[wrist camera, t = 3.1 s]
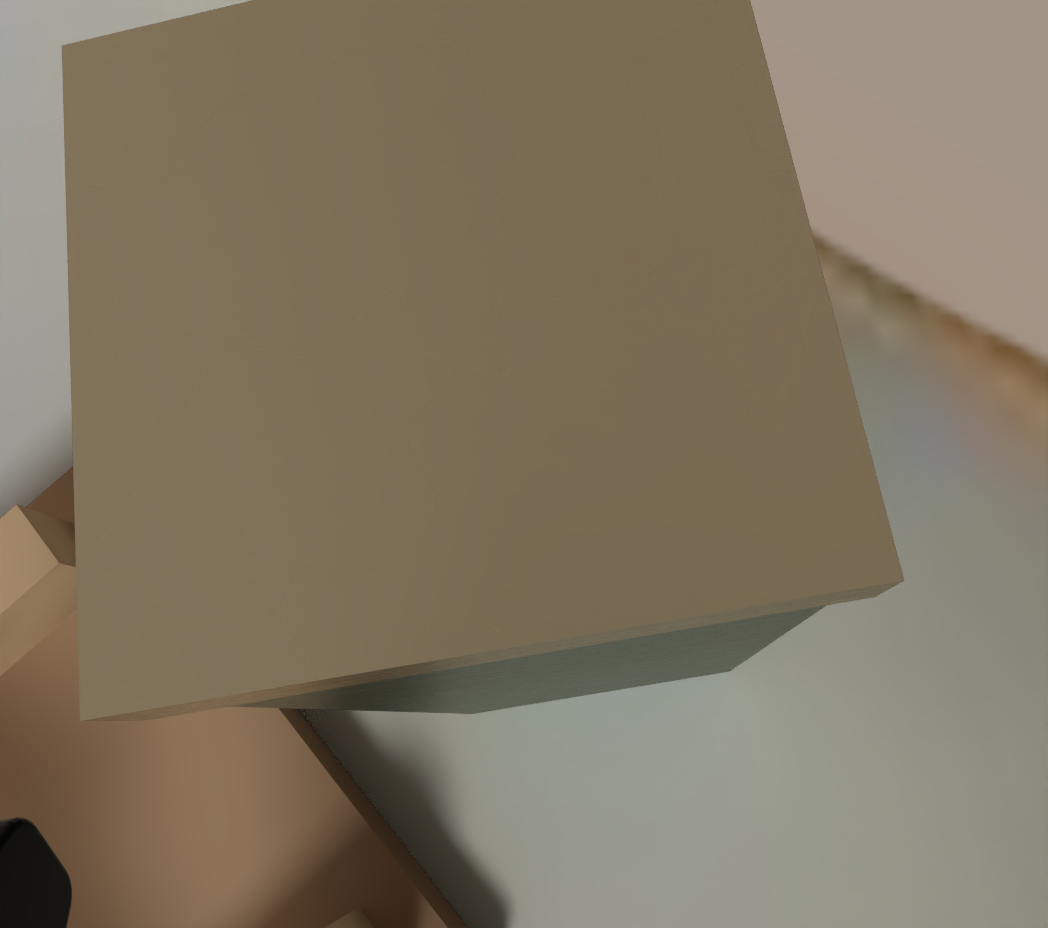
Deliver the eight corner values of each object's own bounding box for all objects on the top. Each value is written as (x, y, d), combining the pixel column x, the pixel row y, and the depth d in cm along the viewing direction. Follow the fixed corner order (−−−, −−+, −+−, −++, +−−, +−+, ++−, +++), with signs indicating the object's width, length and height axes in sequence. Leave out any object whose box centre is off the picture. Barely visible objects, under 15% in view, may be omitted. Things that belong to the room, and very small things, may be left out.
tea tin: (736, 675, 18) (904, 580, 6) (467, 720, 19) (80, 721, 6) (681, 417, 20) (720, -111, 7) (433, 464, 20) (61, 45, 8)
